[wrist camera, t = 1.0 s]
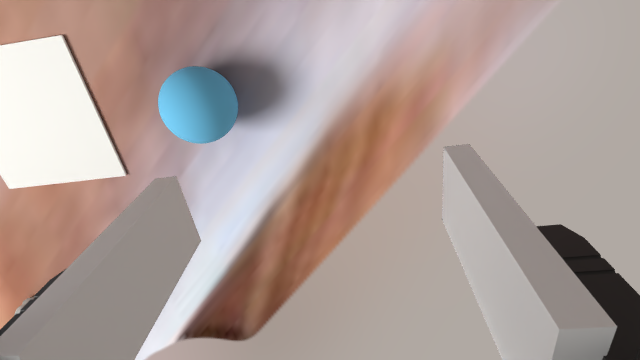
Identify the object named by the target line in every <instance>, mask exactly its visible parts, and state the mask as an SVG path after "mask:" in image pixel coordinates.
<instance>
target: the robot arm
mask: <svg viewBox="0 0 640 360" xmlns="http://www.w3.org/2000/svg"><path fill="white" fill-rule="evenodd" d="M443 159H444V160H443V209H442V220H443V223H444V225H445V227H446V230H447V232H448V234H449V237H450V239H451V241H452V244H453V246H454V248H455V251H456V253H457V255H458V258H459V260H460V262H461V265H462V267H463V269H464V272H465V274H466V276H467V279H468V281H469V283H470V286H471V288H472V290H473V293H474V294H475V297H476V300H477V302H478V304H479V306H480V309H481V311H482V313H483V316H484V318H485V321H486V323H487V325H488V328H489V330H490V332H491V335H492V337H493V339H494V341H495V344H496V346H497V349H498V351H499V353H500V356H501V358H502V360H640V295H639V294H638V293H637V292H636V291H635V290H634V289H633V288H632V287H631V286H630V285H629V284H628V283H627V282H626V281H625V280H624V279H623V278H622V277H621V275H620V274H618V273H615V269H614V268H613V267H612V266H611V265H610V264H609V263H608V262H607V261H606V260H605V259H603V258H601V255H600V254H599V253H598V252H597V251H596V250H595V249H594V248H593V246H591V245H590V243H588V241H587V240H586V239H585V238H583V237H582V236H580V235H578V234H577V233H575V232H573V231H571V230H569V229H568V228H566V227H564V226H563V225H549V226H535V225H534V223H533V222H532V221H531V220H530V218H529V217H528V216H527V215H526V213H525V212H524V211H523V210H522V208H521V207H520V206H519V205H518V203H517V202H516V201H515V200H514V198H513V197H512V196H511V195H510V194H509V192H508V191H507V190H506V189H505V188H504V186H503V185H502V184H501V183H500V181H499V180H498V179H497V177H496V176H495V175H494V174H493V173H492V171H491V170H490V169H489V168H488V167H487V165H486V164H485V163H484V161H483V160H482V159H481V158H480V156H479V155H478V154H477V153H476V152H475V150H474V149H473V148H472V147H471V145H470V144H466V145H456V146H447V147H444V156H443ZM200 242H201V239H200V237H199V234H198V231H197V229H196V226H195V224H194V221H193V218H192V216H191V213H190V211H189V208H188V206H187V203H186V200H185V198H184V195H183V193H182V190H181V187H180V185H179V182H178V180H177V177H176V176H175V177H166V178H157V179H154V180H153V181H152V182H151V183H150V185H149V186H148V187H147V188H146V189H145V190H144V191H143V192H142V193H141V194H140V195H139V196H138V197H137V198H136V199H135V200H134V201H133V202H132V203H131V204H130V205H129V206H128V207H127V208H126V209H125V210H124V211H123V212H122V213H121V214H120V215H119V216H118V217H117V218H116V219H115V220H114V221H113V222H112V223H111V224H110V225H109V226H108V227H107V228H106V229H105V230H104V231H103V232H102V233H101V234H100V235H99V236H98V237H97V238H96V239H95V240H94V242H93V243H92V244H91V245H90V246H89V247H88V248H87V249H86V250H85V251H84V252H83V253H82V254H81V255H80V256H79V257H78V258H77V259H76V260H75V261H74V262H73V263H72V264H71V265H70V266H69V267H68V268H67V269H65V270H64V271H62V272H61V273H59V274H58V275H57V276H55V277H54V278H52V279H51V280H50V281H49V282H48V283H47V284H46V285H45V286H44V287H43V288H42V289H41V290H40V291H39V292H38V293H37V294H36V295H35V296H34V299H32V300H30V301H29V302H28V303H27V304H26V305H25V306H24V307H23V308H22V309H21V310H20V313H18V314H16V315H15V316H14V317H13V318H12V319H11V320H10V321H9V322H8V323H7V324H6V325H5V326H4V327H3V328H2V329H1V330H0V360H134V359H135V358H136V356H137V354H138V352H139V351H140V349H141V347H142V345H143V343H144V342H145V340H146V338H147V336H148V334H149V333H150V331H151V329H152V327H153V326H154V324H155V322H156V320H157V318H158V317H159V315H160V313H161V311H162V309H163V308H164V306H165V304H166V302H167V301H168V299H169V297H170V295H171V293H172V292H173V290H174V288H175V286H176V284H177V283H178V281H179V279H180V277H181V276H182V274H183V272H184V270H185V268H186V267H187V265H188V263H189V261H190V259H191V258H192V256H193V254H194V252H195V251H196V249H197V247H198V245H199V243H200Z"/></svg>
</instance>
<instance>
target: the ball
mask: <svg viewBox="0 0 640 360" xmlns="http://www.w3.org/2000/svg"><path fill="white" fill-rule="evenodd" d="M158 106H159V112H160V115H161V118H162V120H163V122H164V123H165V125H166V126H167V128H168V129H169V130H170V131H171V132H172V133H173V134H175V135H176V136H178V137H179V138H181V139H183V140H185V141H188V142H192V143H200V144H201V143H209V142H213V141H216V140H218V139H220V138H222V137H223V136H225V135H226V134H227V133H228V132H229V131H230V130H231V128H232V127H233V125H234V123H235V121H236V118H237V114H238V101H237V97H236V94H235V91H234V89H233V88H232V86H231V84H230V83H229V82H228V81H227V80H226V79H225V78H224V77H223V76H222V75H221V74H219V73H217V72H216V71H214V70H211V69H209V68H205V67H198V66H192V67H186V68H183V69H180V70H178V71H176V72H174V73H173V74H172V75H170V76H169V77H168V78H167V79H166V81H165V82H164V84H163V85H162V87H161V90H160V93H159V98H158Z"/></svg>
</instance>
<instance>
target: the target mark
mask: <svg viewBox="0 0 640 360" xmlns="http://www.w3.org/2000/svg"><path fill="white" fill-rule="evenodd" d="M0 175H1V176H2V178H3V180H4V181H5V183H6V184H7V186H8V187H9V189H13V188H22V187H30V186H39V185H48V184H57V183H66V182H74V181H83V180H92V179H101V178H110V177H119V176H126V175H127V173H126V171H125V169H124V167H123V165H122V162H121V160H120V158H119V156H118V154H117V152H116V149H115V147H114V145H113V143H112V141H111V138H110V136H109V134H108V132H107V130H106V128H105V125H104V123H103V121H102V119H101V117H100V114H99V112H98V110H97V108H96V106H95V104H94V101H93V99H92V97H91V95H90V93H89V91H88V88H87V86H86V84H85V82H84V80H83V77H82V75H81V73H80V71H79V69H78V67H77V64H76V62H75V60H74V58H73V56H72V54H71V51H70V49H69V47H68V45H67V43H66V40H65V38H64V36H63V35H59V36H53V37H48V38H42V39H36V40H30V41H24V42H18V43H12V44H6V45H0Z"/></svg>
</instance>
